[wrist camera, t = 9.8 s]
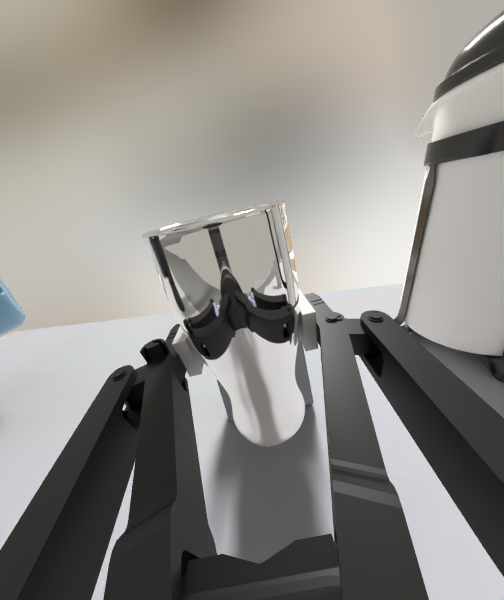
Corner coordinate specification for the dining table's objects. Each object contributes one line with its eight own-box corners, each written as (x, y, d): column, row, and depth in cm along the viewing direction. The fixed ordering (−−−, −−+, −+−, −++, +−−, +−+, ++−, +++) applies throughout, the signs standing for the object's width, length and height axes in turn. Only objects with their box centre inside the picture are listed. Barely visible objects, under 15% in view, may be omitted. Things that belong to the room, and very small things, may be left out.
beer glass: (275, 360, 20) (243, 206, 13) (330, 412, 14) (326, 190, 7) (216, 398, 17) (136, 233, 10) (255, 481, 12) (135, 241, 5)
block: (313, 403, 19) (300, 332, 18) (229, 421, 20) (208, 353, 18) (306, 388, 22) (294, 324, 20) (231, 404, 22) (213, 342, 20)
